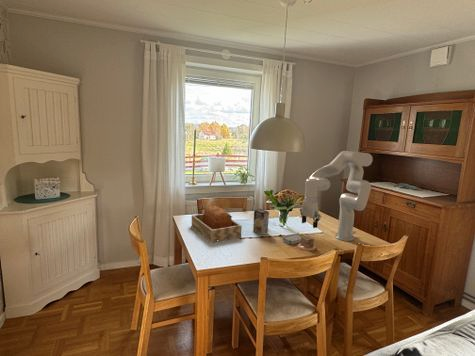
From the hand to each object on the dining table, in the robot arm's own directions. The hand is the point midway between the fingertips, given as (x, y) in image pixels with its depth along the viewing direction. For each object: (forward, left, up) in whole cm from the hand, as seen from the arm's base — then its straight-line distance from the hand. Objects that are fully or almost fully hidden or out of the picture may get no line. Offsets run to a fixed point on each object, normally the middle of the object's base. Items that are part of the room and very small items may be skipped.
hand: (309, 225), depth 177 cm
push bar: (+3, -11, -15) cm, 19 cm away
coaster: (+1, 0, -15) cm, 14 cm away
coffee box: (+13, -34, -15) cm, 39 cm away
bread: (+38, -53, -15) cm, 67 cm away
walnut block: (0, 0, -14) cm, 14 cm away
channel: (0, -12, -15) cm, 19 cm away
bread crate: (+41, -50, -15) cm, 66 cm away
